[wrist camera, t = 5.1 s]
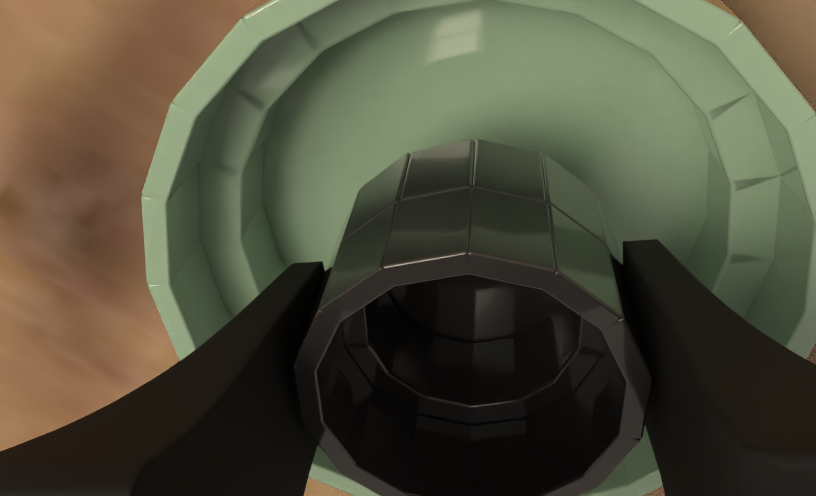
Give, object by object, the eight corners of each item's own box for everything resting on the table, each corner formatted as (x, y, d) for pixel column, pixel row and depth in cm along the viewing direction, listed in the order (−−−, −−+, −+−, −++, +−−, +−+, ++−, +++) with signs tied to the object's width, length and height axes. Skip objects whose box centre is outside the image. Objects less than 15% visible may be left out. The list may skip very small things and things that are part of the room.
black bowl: (419, 389, 18) (399, 550, 14) (291, 196, 15) (225, 329, 12) (651, 313, 16) (697, 475, 12) (547, 80, 14) (565, 193, 10)
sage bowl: (376, 447, 23) (354, 569, 19) (102, 76, 17) (0, 152, 14) (828, 308, 19) (905, 432, 15) (657, -243, 13) (716, -251, 10)
